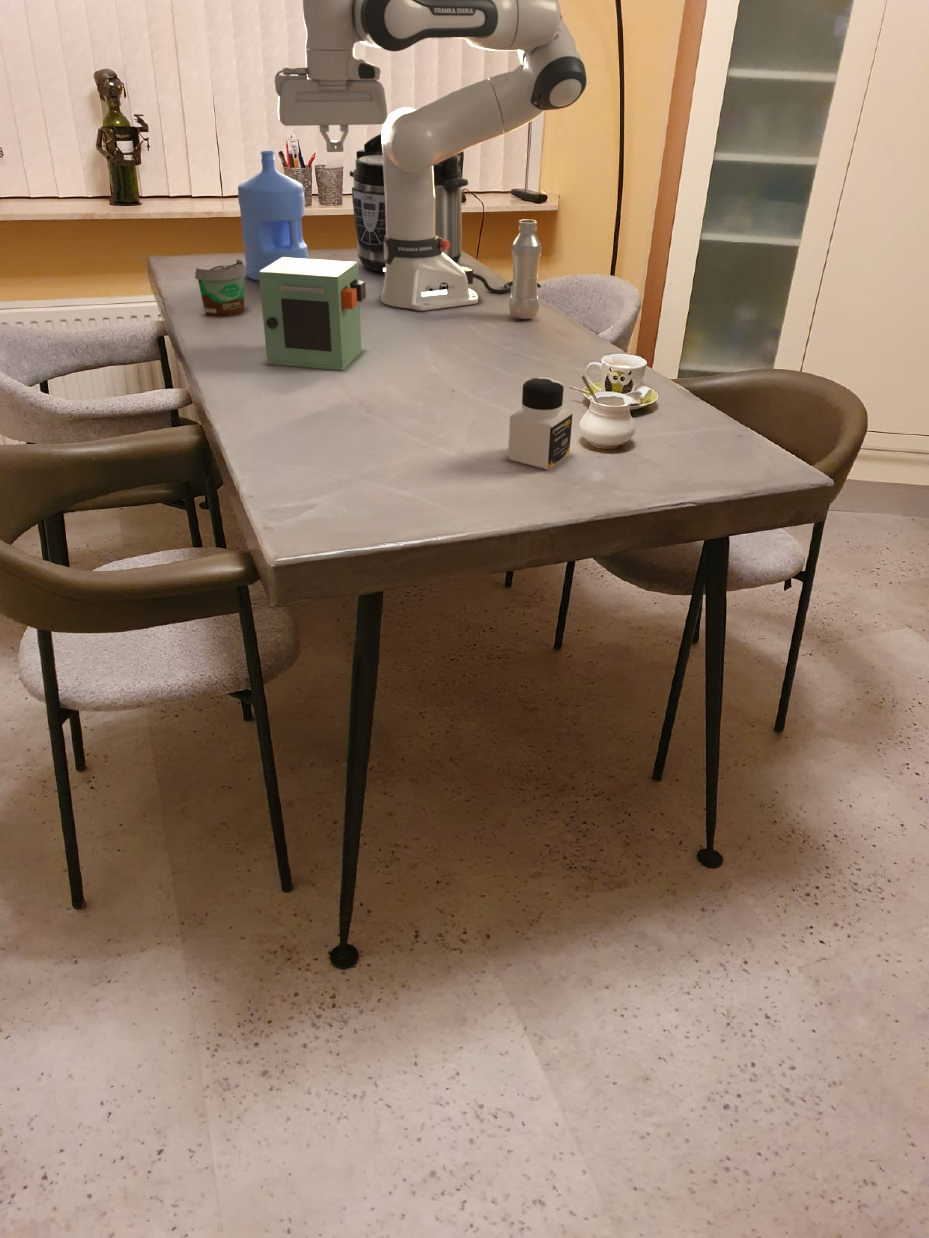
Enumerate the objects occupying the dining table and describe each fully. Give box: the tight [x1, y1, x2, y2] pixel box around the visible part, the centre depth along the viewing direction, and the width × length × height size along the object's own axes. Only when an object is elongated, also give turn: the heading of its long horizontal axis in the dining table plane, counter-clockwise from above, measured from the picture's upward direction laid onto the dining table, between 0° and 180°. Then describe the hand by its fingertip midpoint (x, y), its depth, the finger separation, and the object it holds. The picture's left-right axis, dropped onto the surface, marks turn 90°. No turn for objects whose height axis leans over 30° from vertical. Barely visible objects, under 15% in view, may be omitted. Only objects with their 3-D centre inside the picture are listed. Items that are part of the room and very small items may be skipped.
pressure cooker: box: [349, 132, 469, 273], centre depth 242 cm, size 30×28×32 cm
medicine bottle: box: [507, 376, 574, 471], centre depth 144 cm, size 7×7×12 cm
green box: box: [258, 257, 362, 371], centre depth 181 cm, size 15×13×17 cm
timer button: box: [350, 280, 367, 302], centre depth 180 cm, size 3×3×3 cm
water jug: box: [237, 150, 309, 282], centre depth 232 cm, size 16×16×28 cm
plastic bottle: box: [508, 219, 542, 320], centre depth 206 cm, size 6×7×20 cm
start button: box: [341, 288, 357, 309], centre depth 176 cm, size 3×3×3 cm
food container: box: [194, 258, 247, 318], centre depth 208 cm, size 12×6×10 cm, turn 143°
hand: (335, 151), depth 182 cm, fingers closed
